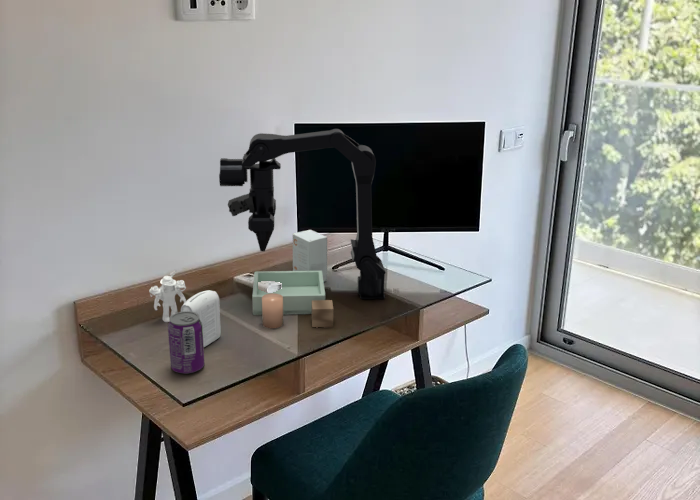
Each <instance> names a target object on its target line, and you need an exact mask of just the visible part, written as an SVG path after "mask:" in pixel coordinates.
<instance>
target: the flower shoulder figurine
mask: <svg viewBox="0 0 700 500" xmlns="http://www.w3.org/2000/svg"><path fill="white" fill-rule="evenodd" d="M176 273H177V269H174V271H172V272H169V275H164V276H163V277H162V278H161V279H160V282H159V283H160V284H161V285H160V286H159V287H158V285H155V284H154V286H151V287H150V289H149V290H148V291H149V295H150V296H149V297H150V298H152V297H153V296H155V297H154V302H153V303H154V304H153V308H154V311H158V310H159V309H158V306H159V307H161V304H160V302H159V301H160V300H161V301H162V309H163V311H162V312H163V313H162V321H163V322H165V323H168V322H170V317H171V316H172V315H173V314H175V313H178V312H179V311H178V306H177V303H176V295H178V297H180V298H179V303H182V302H183V304H184V303H185V302H186V301H187V299H186V297H185V295H184V294H183V292H184V291H185V290H186V289H187V286H186V283H185V281H184V280H183V279H180V280H179V279H178V280H176V279H173V277H175V276H174V275H176ZM170 309H171V312H170Z"/></svg>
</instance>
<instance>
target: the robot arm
mask: <svg viewBox="0 0 700 500" xmlns="http://www.w3.org/2000/svg"><path fill="white" fill-rule="evenodd" d="M331 148H333V149H334V148H335V149H336V150H337V151H338V152H340V153H341V154H342V155H343V156H344V157H345V158H346V159H347V160H348V161H350V162H351V163H350V164H351V168H352V171H353V177H354V179H355V193H356V194H355V196H356V197H355V200H356V231H357V232H356V237H355V239H351V238H350V245H351V249H350V250H351V251H350V255H351V259H352V263H355V267H356V269H358V270H359V276H357V287H356V288H357V289H356V290H357V294H358V295H359V298H360V300H378V299H382V300H383V299H386V295H385V280H386V279H385V274H386V273H387V272H386V270H385V267H384V264H383V262H382V259H381V258H380V257H379V256H378V255H377V252H376V248H375V242H374V239H373V210H372V207H373V206H372V205H373V203H372V201H373V200H372V198H373V197H372V196H373V195H372V184H373V180H374V177H375V172H376V166H377V165H376V164H377V159H376V156H375V154H374V153H373V150H372V148H370V147H369V146H367V145H363V144H359V143H358V142H356V141H355V140H354V139H352V138H351V137H349V135H346V134H345V133H344V132H343V131H342V130H341V129H339V128H333V129H330V130H321V131H315V132H314V131H313V132H306V133H297V134H288V135H281V134H275V133H262V132H260V133H256V134H255V135H253V136H252V138H251V139H250V140H249V147H248V149H247V150H246V152H245V153H244V154H243V156H242V158H237V159H236V158H224V157H223V158H221V157H220V160H219V174H218V177H219V186H220V187H243V186H244V185H245V183H248V181H249V180H250V183H249V184H250V186H249V187H250V188H249V192H248V193H246V194H243V195H239V196H237V197H234V198H230V200H228V203H227V207H228V212H229V213H230V214H231V216H232V217H236V216H238V215H239V214H243V213H245V212H247V211H249V212H248V213H249V214H251V215H250V216H249V217H248V221H247V224H248V225H247V226H248V230H249V231H250V232H252V233H254V234H255V236H256V239H257V243H258V247H259V251H260V252H265V251H266V249H267V247H268V244H269V242H270V241H271V240H270V239H271V237H272V234H273V233H274V229H275V214H276V209H277V200H276V199H275V195H274V194H275V186H274V185H275V182H274V170H281V167H282V166H281V163H280V162H279V161H277V159H276V158H279V157H281V156H284V155H287V154H291V153H298V152H299V153H300V152H306V151H316V150H322V149H323V150H324V149H325V150H326V149H331ZM248 170H249V175H248ZM248 176H249V177H250V178H249V177H248ZM248 179H249V180H248Z"/></svg>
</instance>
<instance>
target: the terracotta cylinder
mask: <svg viewBox="0 0 700 500" xmlns="http://www.w3.org/2000/svg"><path fill="white" fill-rule="evenodd" d="M261 317H262V320H261V322H262V327H263V328H266V329H270V330H271V329H278V328H281V327H283V325H284V314H283V296H282V295H280V294H275V293H271V294H266V295H264V296H263V297H262V315H261Z"/></svg>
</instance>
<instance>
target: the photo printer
mask: <svg viewBox="0 0 700 500" xmlns="http://www.w3.org/2000/svg"><path fill="white" fill-rule="evenodd" d="M220 304H221V303H220V296H219V294H218V293H217V291H215V290H212V289H211V290H209V289H208V290H204V291H200V292H197V293H196V294H194V295H192V296H191V297H189V298H188V299H186V302H185V303H184V302H183V304H182V305H181V307H180V312H184V311H190V312H195V313H197V314H198V315H199V317H200V321H201V322H202V329H203V346H204V348H205V347H207V346H209V345H210V344H211V343H213V342H215V341H216V340H217V339H219V338H221V333H222V332H221V306H220Z"/></svg>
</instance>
